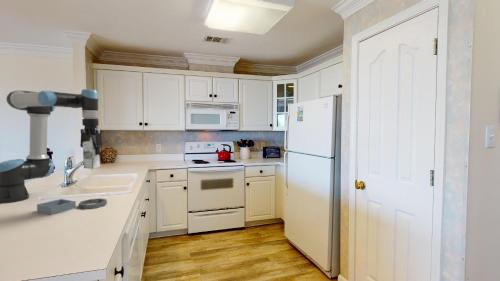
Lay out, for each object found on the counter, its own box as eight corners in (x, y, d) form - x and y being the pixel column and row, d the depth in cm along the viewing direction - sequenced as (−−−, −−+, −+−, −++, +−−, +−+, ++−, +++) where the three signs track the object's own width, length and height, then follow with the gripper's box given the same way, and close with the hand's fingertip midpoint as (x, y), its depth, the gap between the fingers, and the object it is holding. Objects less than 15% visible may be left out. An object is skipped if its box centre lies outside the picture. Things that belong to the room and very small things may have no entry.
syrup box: (100, 167, 150) (99, 141, 149) (93, 168, 144) (92, 141, 144) (90, 166, 151) (89, 141, 150) (83, 168, 145) (82, 141, 144)
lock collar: (74, 207, 146) (73, 203, 145) (96, 201, 157) (95, 197, 157) (90, 210, 140) (89, 206, 140) (111, 203, 152) (111, 200, 152)
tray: (37, 211, 138) (36, 204, 138) (61, 205, 149) (61, 198, 149) (51, 214, 133) (51, 207, 133) (75, 207, 144) (75, 201, 144)
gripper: (71, 118, 147) (72, 160, 148) (96, 118, 139) (97, 162, 140) (84, 118, 154) (86, 158, 155) (109, 118, 146) (110, 160, 147)
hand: (91, 160), depth 147 cm, fingers closed on syrup box, 7 cm apart
